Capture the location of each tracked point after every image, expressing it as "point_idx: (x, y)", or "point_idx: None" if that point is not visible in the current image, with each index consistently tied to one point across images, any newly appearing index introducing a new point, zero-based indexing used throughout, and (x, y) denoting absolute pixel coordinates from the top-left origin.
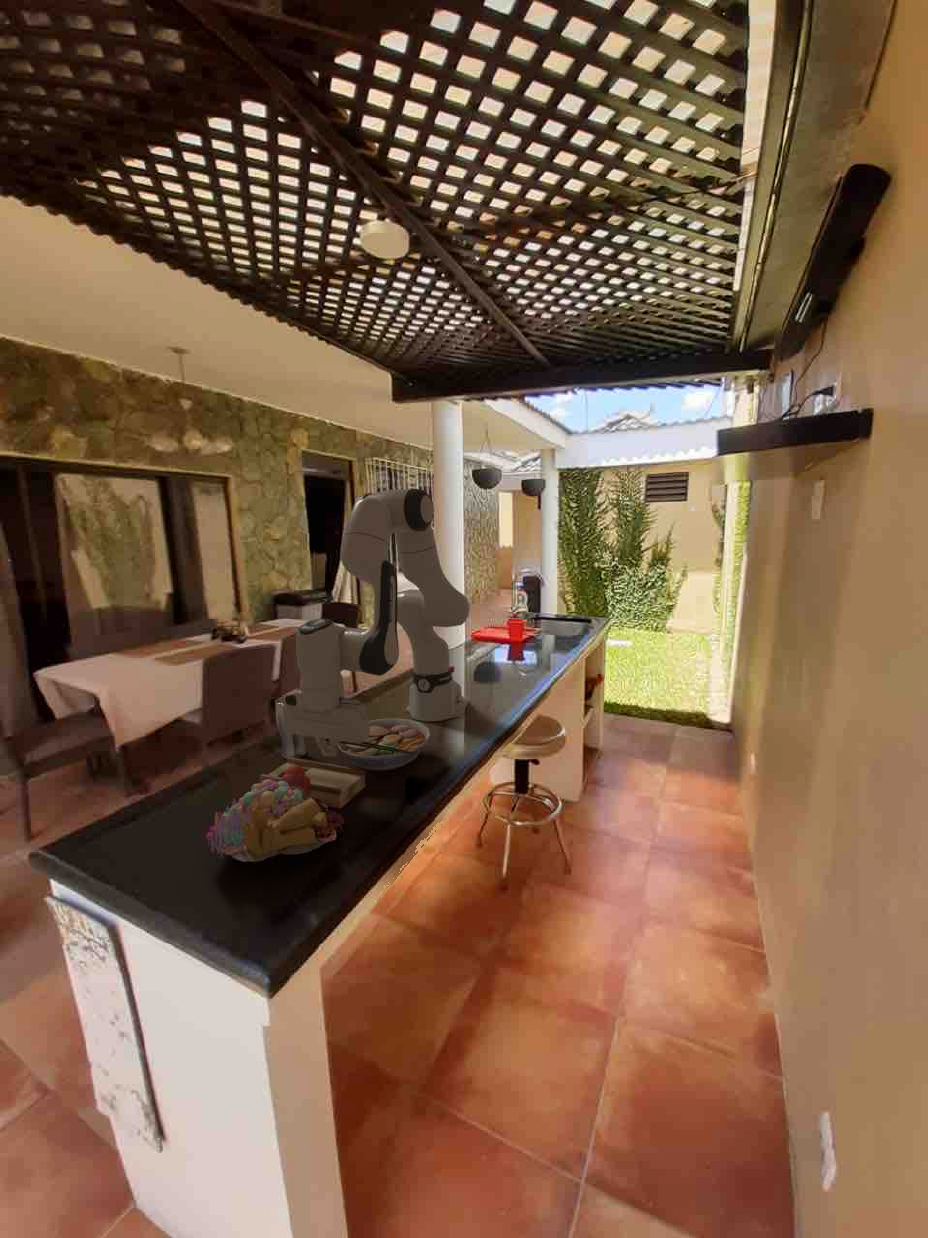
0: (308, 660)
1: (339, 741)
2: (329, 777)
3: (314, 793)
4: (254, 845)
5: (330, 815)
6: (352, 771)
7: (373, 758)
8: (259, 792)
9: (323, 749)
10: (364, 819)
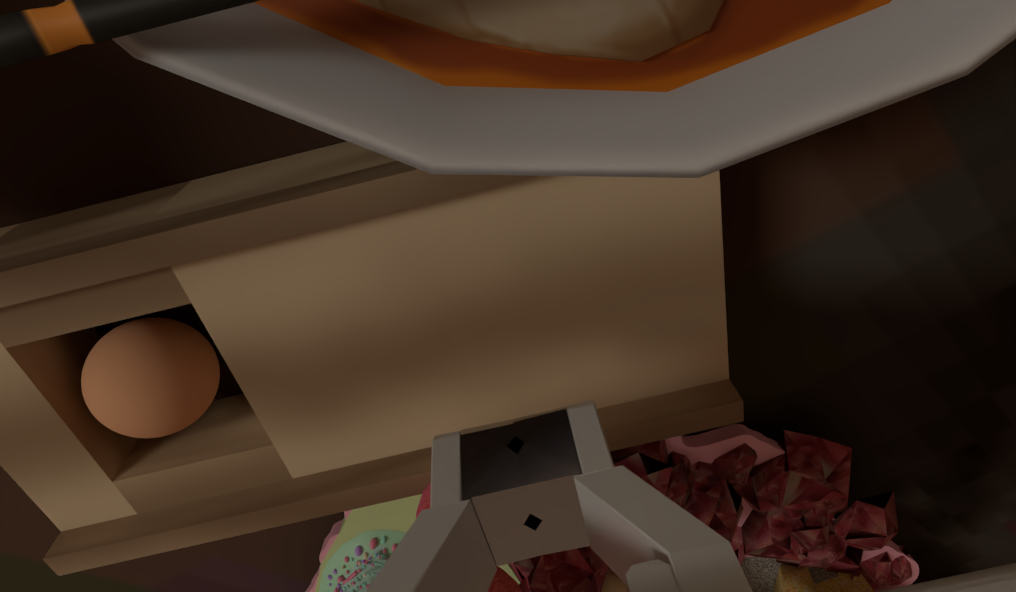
0: None
1: (707, 532)
2: (472, 294)
3: None
4: None
5: (790, 500)
6: None
7: (939, 61)
8: None
9: (500, 562)
10: (889, 334)
